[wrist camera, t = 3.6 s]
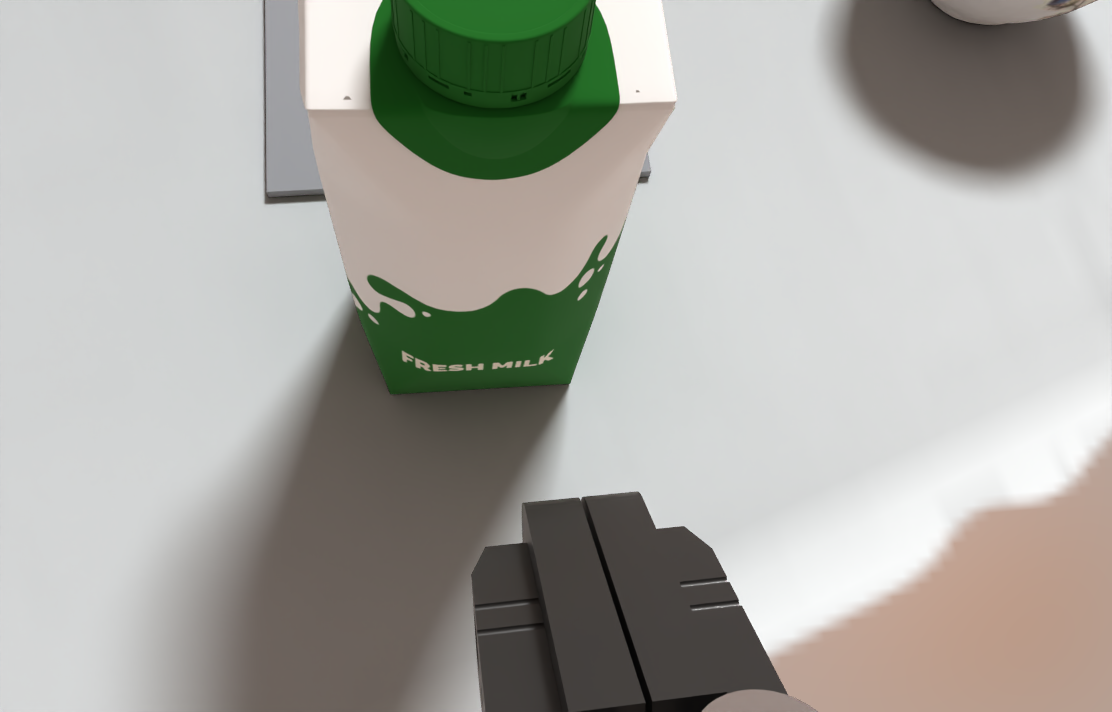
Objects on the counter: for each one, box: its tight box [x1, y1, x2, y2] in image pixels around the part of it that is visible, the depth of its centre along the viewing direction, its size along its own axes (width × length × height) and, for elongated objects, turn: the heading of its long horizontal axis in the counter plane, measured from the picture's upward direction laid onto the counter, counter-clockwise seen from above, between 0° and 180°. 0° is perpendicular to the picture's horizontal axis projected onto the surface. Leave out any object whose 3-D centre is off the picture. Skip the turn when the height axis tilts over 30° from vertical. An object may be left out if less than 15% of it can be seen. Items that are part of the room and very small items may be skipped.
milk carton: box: [298, 0, 677, 394], centre depth 27 cm, size 9×9×20 cm
